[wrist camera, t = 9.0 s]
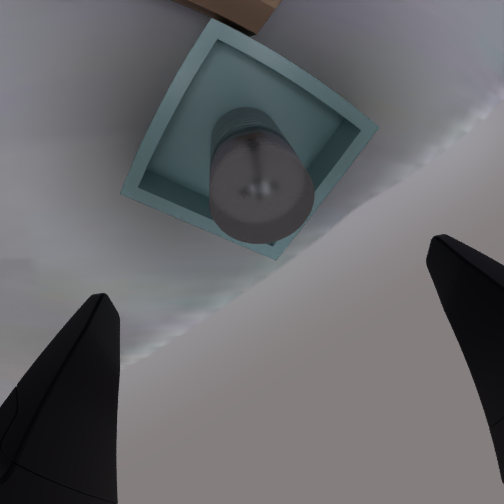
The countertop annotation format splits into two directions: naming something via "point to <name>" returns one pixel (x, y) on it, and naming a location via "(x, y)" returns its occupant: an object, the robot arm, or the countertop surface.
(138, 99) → the countertop surface
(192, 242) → the countertop surface
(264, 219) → the translucent grey cylinder
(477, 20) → the countertop surface
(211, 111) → the tray
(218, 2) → the block
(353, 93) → the countertop surface
